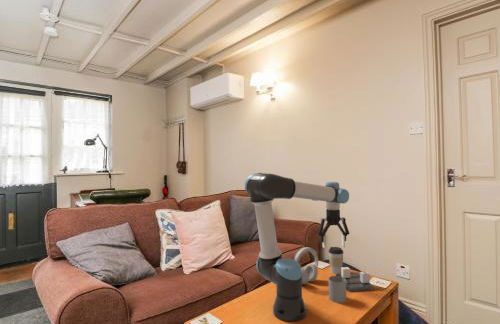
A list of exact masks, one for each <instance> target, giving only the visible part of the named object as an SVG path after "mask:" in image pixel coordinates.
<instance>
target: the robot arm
mask: <svg viewBox="0 0 500 324" xmlns="http://www.w3.org/2000/svg"><path fill="white" fill-rule="evenodd" d="M244 190H245V192H246V193H247V194H248V195H249V198H250V203H251V204H252V205H254V212H255V218H256V225H257V226H256V227H257V232H258V239H259V246H260V251H259V253H258V257H257V260H256V262H255V265H256V266H255V267H256V270H257V272H258V274H259V275H261V277H263V279H266V280H267V281H269V282H271V283H273V284H274V285H275V287H276V296H275V299H274V302H273V306H272V313H273V315H274V317H275V318H277V319H278V320H280V321H283V322H284V321H285V322H297V321H301V320H303V319H304V318H306V316H307V307H306V304H305V302H304V298H303V284H302V270H301V267H302V265H301V263H300V261H298V262H297V261H296V260H294V258H293V259H292V258H289V257H283V254H282V250H281V249H279V246H278V240H277V232H276V226H275V218H274V213H273V212H274V210H273V205H272V203H273V201H274V200H275V199H285V200H291V199H293V198H296V199H303V200H304V199H305V200H311V201H315V202H316V201H320V202H325V208H326V210H325V211H326V214H325V215H326V216H325V218H323V217H321V218H320V225H319V226H318V231H317V235H318V236H320V242H321V244H322V248H323V249H326V236H325V235H326V233H327V231H328V230H329V228H330V227H331V226H337V227H338V229H339V230H340V232H341V233H342V234H341V247H342V248H345V247H346V241H347V236H349V235H350V231H349V228H348V225H347V222H346V217H341V210H340V208H341V205H340V204H346V203H348V202H349V200H350V193H349V191H348V190H347V189H345V188H340V183H339V182H338V181H326V182H325V185H320V184H313V183H307V182H302V181H301V182H300V181H295V180H294V179H293V178H290V177H286V176H285V177H284V176H282V175H278V174H274V173H263V172H255V173H251V174H250V175H248V177H247V178H246V180H245V182H244ZM325 222H326V223H325ZM340 222H342V223H341V224H342V225H341V224H340ZM342 226H343V227H342Z"/></svg>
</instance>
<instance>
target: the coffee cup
mask: <svg viewBox="0 0 500 324" xmlns="http://www.w3.org/2000/svg"><path fill="white" fill-rule="evenodd" d="M328 259H329V268H330V273H332V274H334V275H337V274H341V267H343V263H344V250H343V249H342V248H341V247H339V246H330V248H329V249H328Z"/></svg>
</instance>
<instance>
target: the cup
mask: <svg viewBox="0 0 500 324" xmlns="http://www.w3.org/2000/svg"><path fill="white" fill-rule="evenodd" d="M328 299H329V301H331V302H333V303H335V304H344V303H346V302H347V289H346V279H345V278H343V277H341V276H336V275H331V276H329V277H328Z"/></svg>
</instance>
